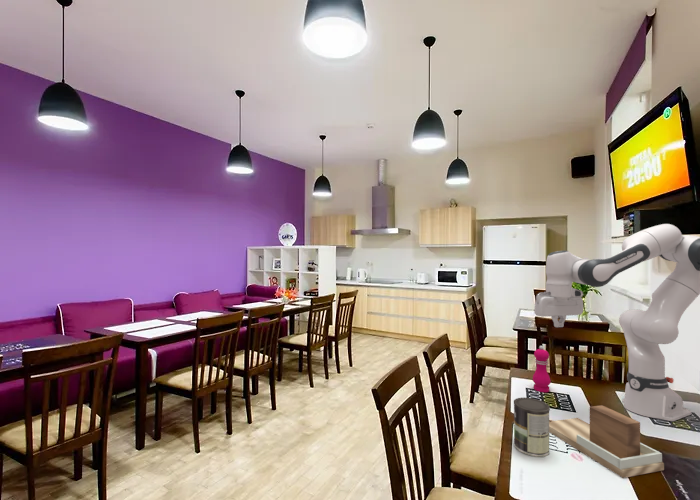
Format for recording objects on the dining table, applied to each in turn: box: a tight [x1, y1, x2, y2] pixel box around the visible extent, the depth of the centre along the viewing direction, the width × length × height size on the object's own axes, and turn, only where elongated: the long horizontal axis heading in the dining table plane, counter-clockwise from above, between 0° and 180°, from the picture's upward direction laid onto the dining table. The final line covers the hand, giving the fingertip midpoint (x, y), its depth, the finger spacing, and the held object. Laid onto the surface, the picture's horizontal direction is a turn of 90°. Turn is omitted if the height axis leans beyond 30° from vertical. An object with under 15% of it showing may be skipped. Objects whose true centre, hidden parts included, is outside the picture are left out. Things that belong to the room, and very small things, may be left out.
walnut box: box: [589, 405, 641, 459], centre depth 110 cm, size 5×12×11 cm, turn 14°
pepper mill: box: [532, 345, 552, 393], centre depth 163 cm, size 7×7×20 cm
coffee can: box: [513, 397, 551, 458], centre depth 115 cm, size 10×10×14 cm
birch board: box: [549, 417, 665, 479], centre depth 115 cm, size 15×29×2 cm, turn 14°
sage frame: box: [577, 435, 663, 470], centre depth 109 cm, size 15×14×2 cm
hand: (558, 326), depth 141 cm, fingers closed
